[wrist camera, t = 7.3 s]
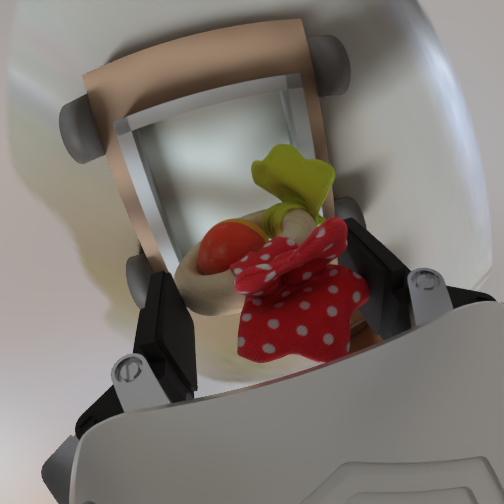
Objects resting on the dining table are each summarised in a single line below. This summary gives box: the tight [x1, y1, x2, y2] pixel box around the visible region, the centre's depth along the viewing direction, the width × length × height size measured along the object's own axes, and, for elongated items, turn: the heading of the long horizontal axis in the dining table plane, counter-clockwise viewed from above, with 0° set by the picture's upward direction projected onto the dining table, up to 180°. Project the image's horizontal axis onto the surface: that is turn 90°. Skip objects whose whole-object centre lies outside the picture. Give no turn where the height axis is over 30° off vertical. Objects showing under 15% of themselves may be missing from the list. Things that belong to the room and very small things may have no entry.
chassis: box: [59, 18, 366, 311], centre depth 21 cm, size 22×20×6 cm
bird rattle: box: [174, 144, 370, 364], centre depth 13 cm, size 6×11×9 cm
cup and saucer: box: [347, 308, 383, 355], centre depth 31 cm, size 12×12×6 cm
